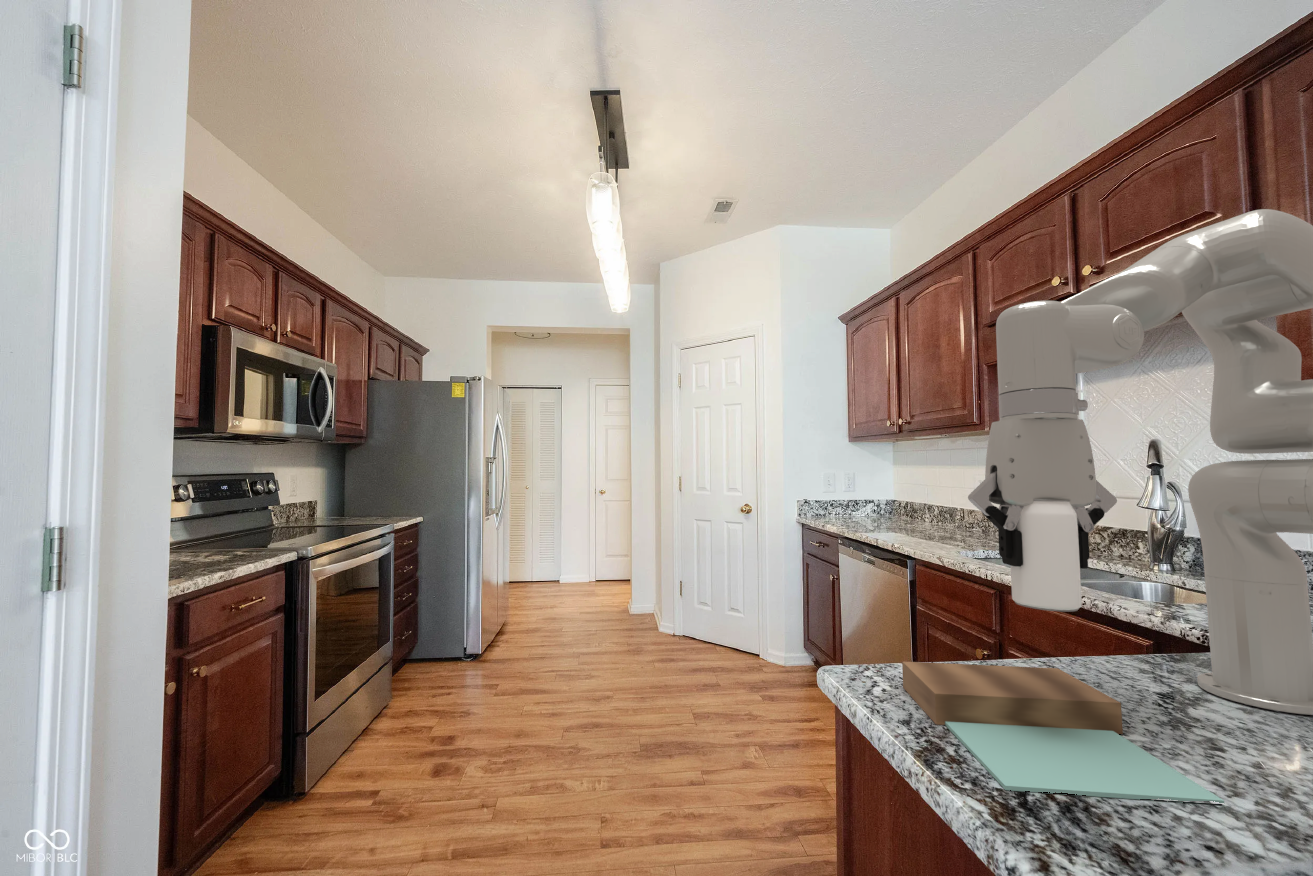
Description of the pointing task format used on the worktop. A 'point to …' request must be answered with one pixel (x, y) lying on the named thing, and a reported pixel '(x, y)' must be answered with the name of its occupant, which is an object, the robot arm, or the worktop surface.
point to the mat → (1074, 763)
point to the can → (1048, 558)
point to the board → (1009, 696)
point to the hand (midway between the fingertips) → (1043, 564)
